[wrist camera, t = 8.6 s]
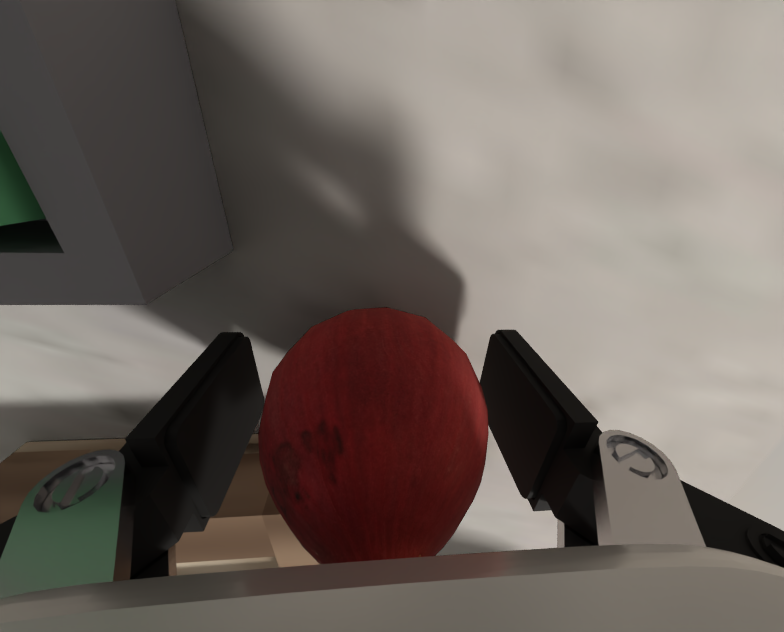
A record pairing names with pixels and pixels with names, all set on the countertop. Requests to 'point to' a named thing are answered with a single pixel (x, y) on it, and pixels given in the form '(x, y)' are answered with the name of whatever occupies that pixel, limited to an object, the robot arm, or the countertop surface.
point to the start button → (15, 191)
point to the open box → (195, 549)
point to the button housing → (105, 154)
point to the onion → (373, 437)
